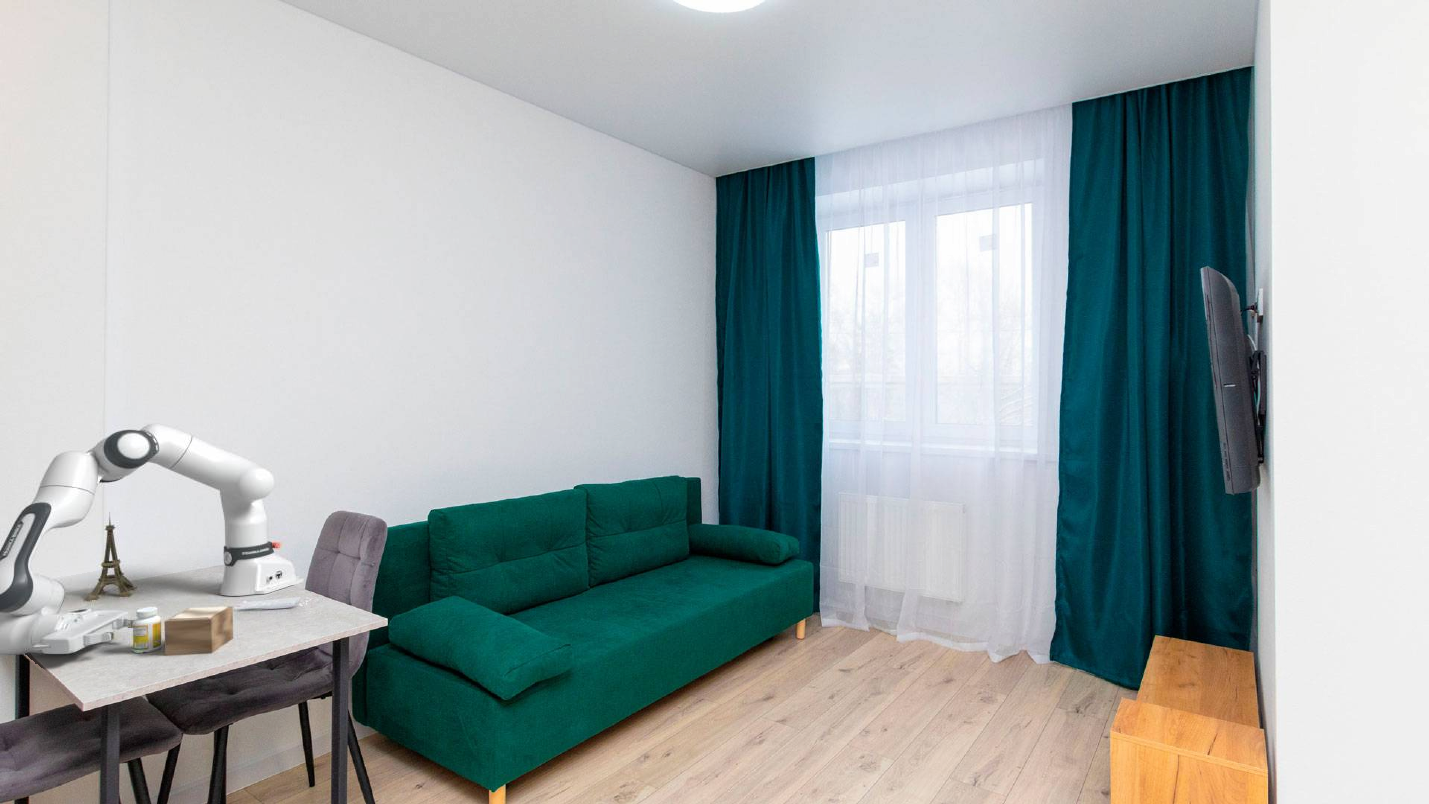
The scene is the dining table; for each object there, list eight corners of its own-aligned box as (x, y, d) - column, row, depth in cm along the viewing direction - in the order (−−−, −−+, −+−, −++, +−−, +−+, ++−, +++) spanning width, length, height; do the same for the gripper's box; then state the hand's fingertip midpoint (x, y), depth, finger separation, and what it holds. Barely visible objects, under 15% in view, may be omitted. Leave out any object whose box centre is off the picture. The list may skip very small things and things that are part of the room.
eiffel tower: (84, 602, 213) (82, 516, 212) (93, 593, 222) (91, 510, 222) (130, 596, 218) (128, 513, 218) (136, 588, 228) (135, 507, 227)
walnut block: (189, 640, 181) (188, 607, 181) (233, 638, 183) (232, 605, 182) (165, 655, 171) (164, 620, 171) (211, 653, 173) (211, 618, 172)
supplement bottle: (136, 655, 171) (135, 614, 171) (130, 649, 175) (129, 609, 175) (164, 648, 176) (163, 609, 175) (158, 643, 179) (157, 604, 179)
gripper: (24, 634, 162) (94, 631, 164) (89, 606, 182) (150, 603, 184) (25, 663, 162) (95, 659, 164) (90, 631, 182) (151, 628, 184)
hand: (125, 629), depth 174 cm, fingers open, 8 cm apart
